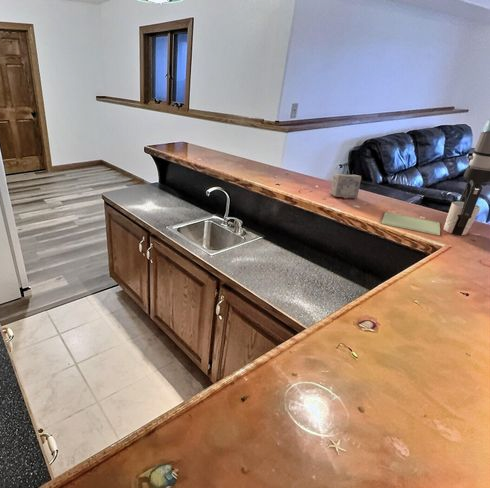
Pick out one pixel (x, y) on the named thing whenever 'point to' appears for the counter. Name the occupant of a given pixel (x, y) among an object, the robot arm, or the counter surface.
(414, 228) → the napkin
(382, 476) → the counter surface
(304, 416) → the counter surface
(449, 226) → the white cup
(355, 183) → the incense holder
